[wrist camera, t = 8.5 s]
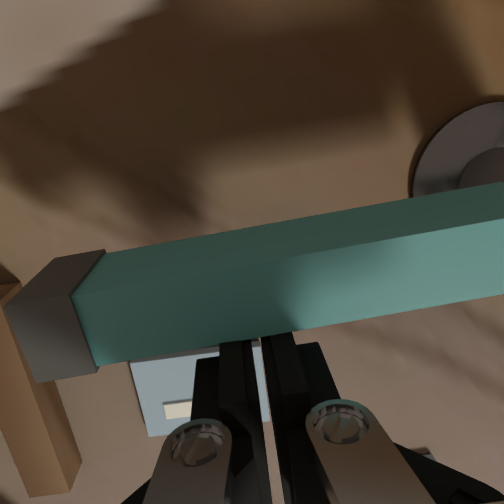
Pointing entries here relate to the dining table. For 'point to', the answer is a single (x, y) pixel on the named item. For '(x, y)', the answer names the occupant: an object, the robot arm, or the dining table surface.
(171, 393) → the label cards
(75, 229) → the dining table surface
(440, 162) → the pivot plate
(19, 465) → the sill
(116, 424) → the dining table surface
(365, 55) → the dining table surface
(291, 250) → the boom bar
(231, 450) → the robot arm
